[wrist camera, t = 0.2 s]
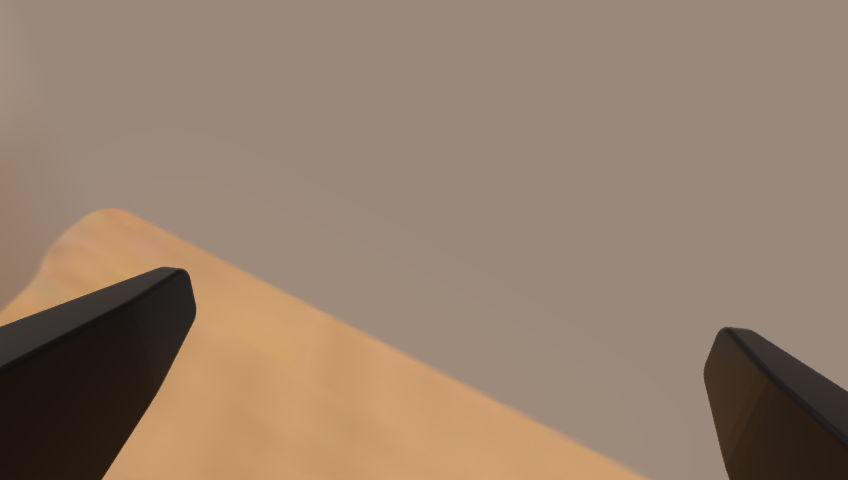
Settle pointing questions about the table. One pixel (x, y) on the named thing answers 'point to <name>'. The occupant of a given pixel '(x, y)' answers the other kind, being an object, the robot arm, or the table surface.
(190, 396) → the table surface
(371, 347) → the table surface
